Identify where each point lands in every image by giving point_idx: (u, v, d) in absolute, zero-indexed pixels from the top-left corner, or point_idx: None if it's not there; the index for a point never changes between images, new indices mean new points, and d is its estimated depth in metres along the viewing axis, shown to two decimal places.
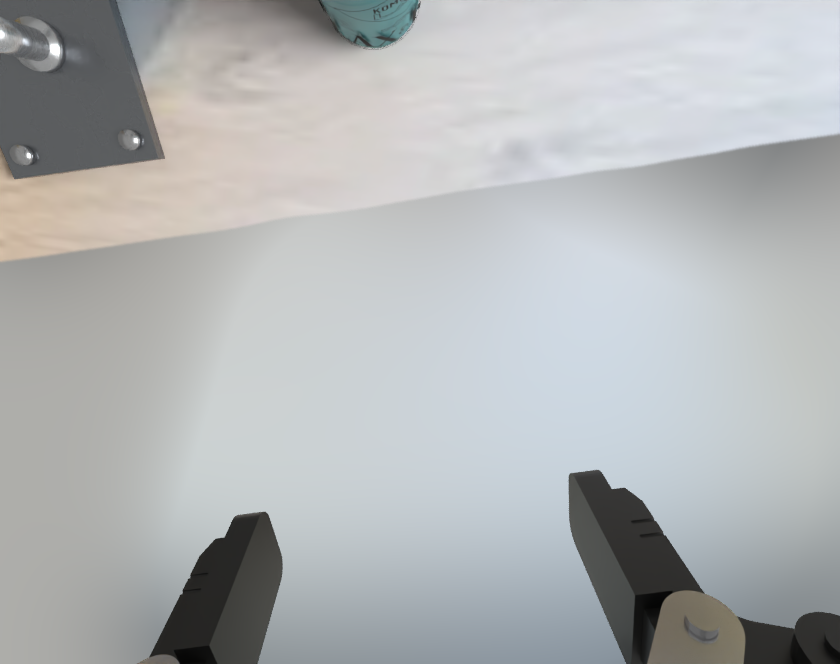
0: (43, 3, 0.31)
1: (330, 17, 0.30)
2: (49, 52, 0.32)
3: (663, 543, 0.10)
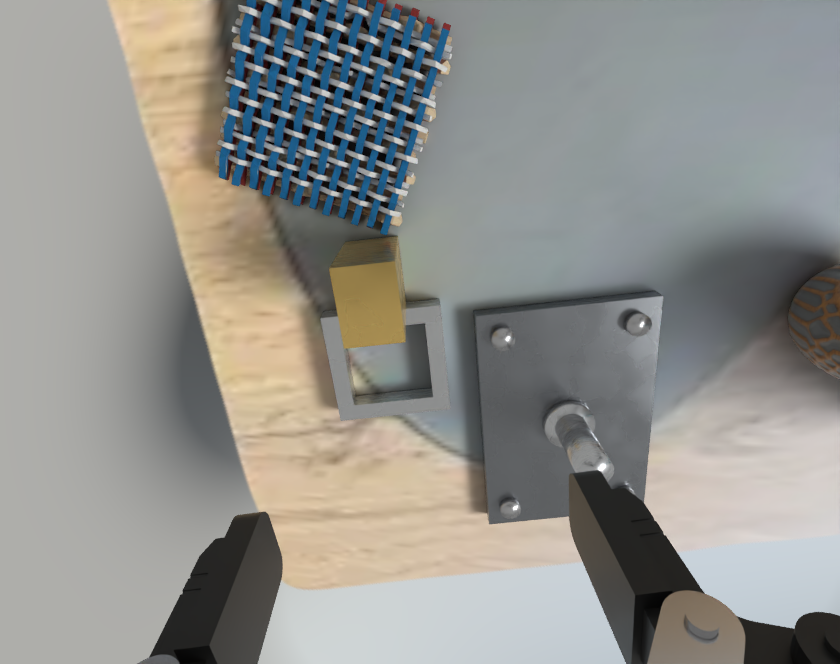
0: (587, 388, 0.30)
1: None
2: None
3: (663, 543, 0.10)
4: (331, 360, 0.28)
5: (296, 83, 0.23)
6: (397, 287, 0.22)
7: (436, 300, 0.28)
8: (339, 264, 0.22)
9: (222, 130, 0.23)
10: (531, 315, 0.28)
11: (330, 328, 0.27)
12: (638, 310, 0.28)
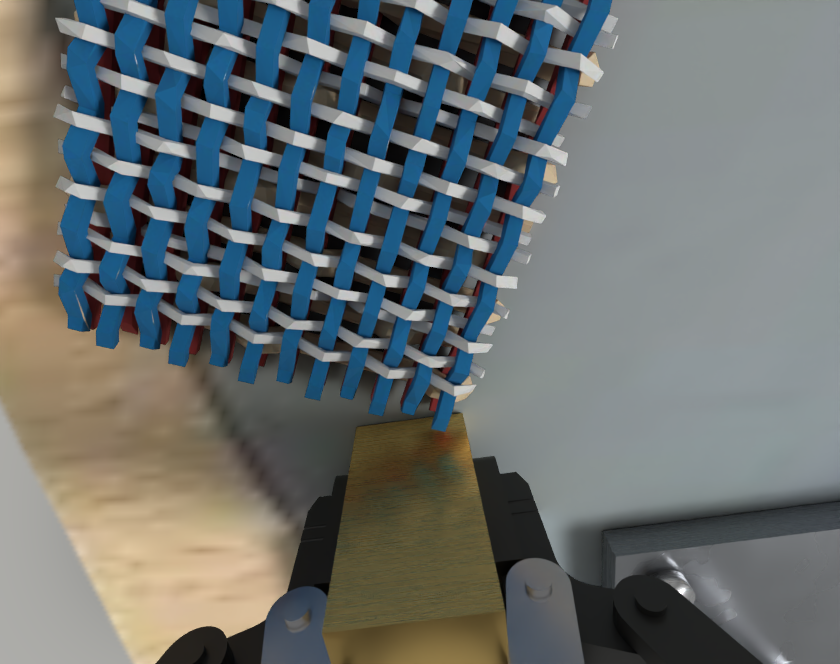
0: (809, 655, 0.16)
1: None
2: None
3: (535, 520, 0.11)
4: None
5: (230, 117, 0.09)
6: (506, 659, 0.08)
7: None
8: (349, 595, 0.08)
9: None
10: (726, 551, 0.14)
11: None
12: None
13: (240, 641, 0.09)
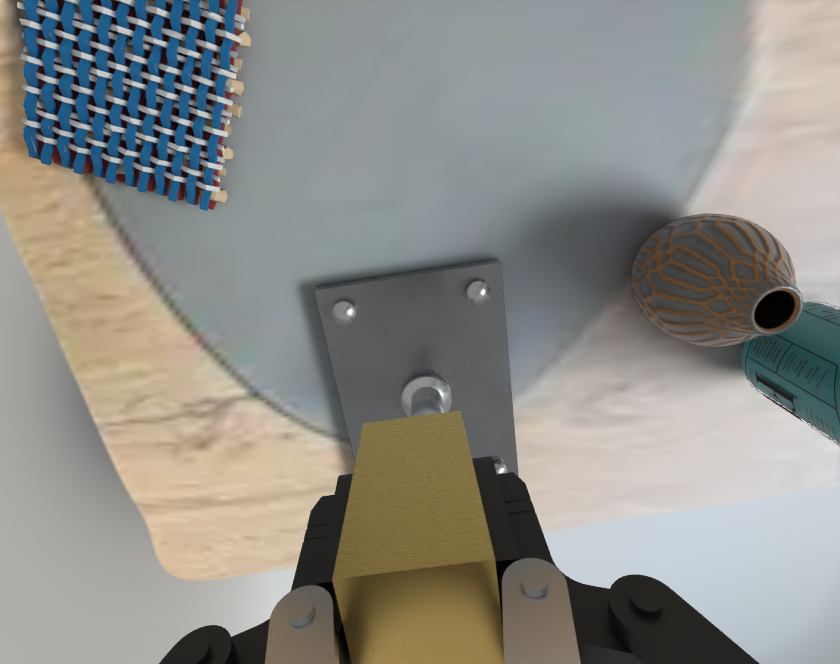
0: (440, 360, 0.29)
1: (764, 387, 0.28)
2: None
3: (532, 520, 0.11)
4: None
5: (90, 58, 0.23)
6: (498, 610, 0.09)
7: None
8: (357, 551, 0.09)
9: (25, 108, 0.23)
10: (370, 287, 0.27)
11: None
12: (477, 278, 0.27)
13: (245, 640, 0.09)
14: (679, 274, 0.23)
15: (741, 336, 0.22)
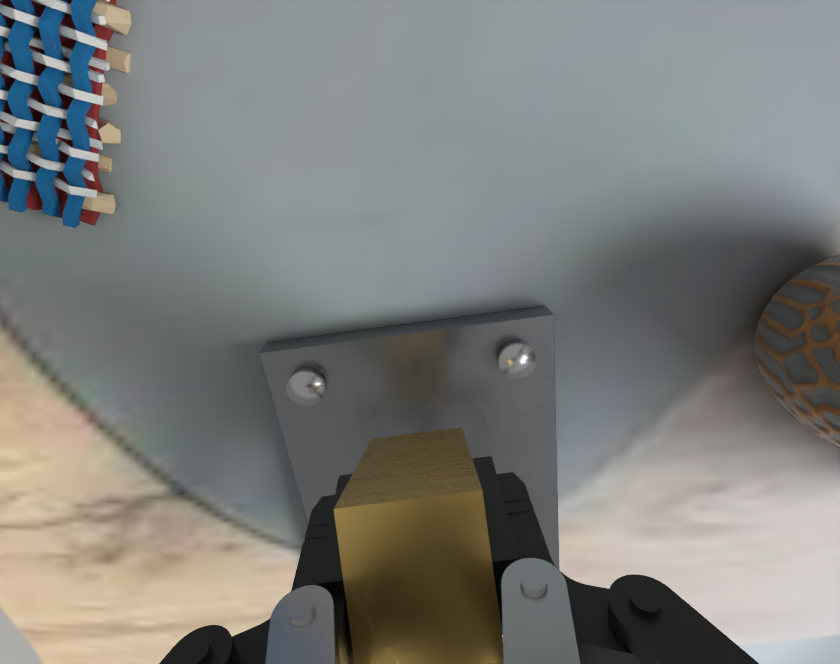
0: None
1: None
2: None
3: (531, 520, 0.11)
4: None
5: None
6: (488, 551, 0.09)
7: None
8: (357, 496, 0.10)
9: None
10: (348, 349, 0.18)
11: None
12: (515, 338, 0.17)
13: (245, 640, 0.09)
14: None
15: None
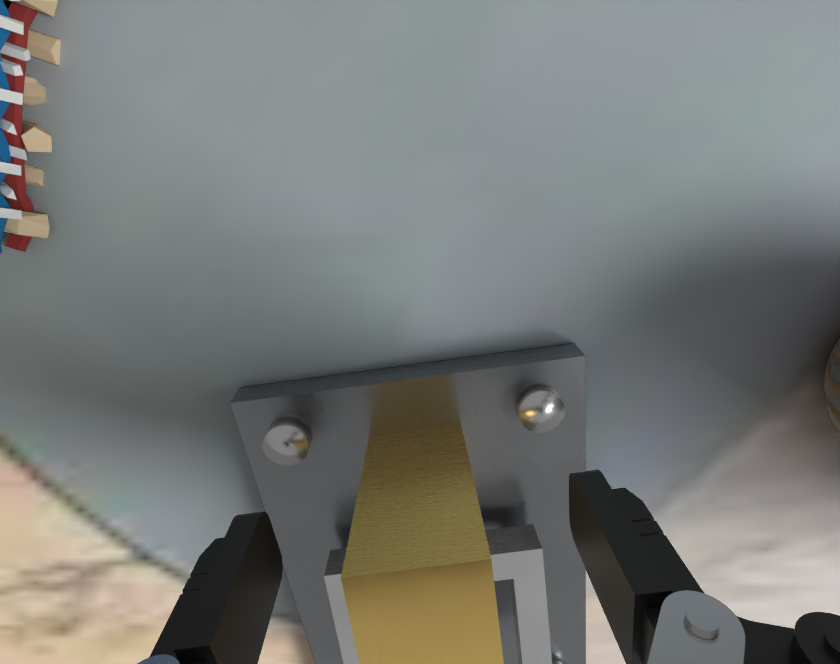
0: None
1: None
2: None
3: (663, 543, 0.10)
4: (344, 643, 0.16)
5: None
6: (495, 609, 0.10)
7: (529, 530, 0.16)
8: (363, 553, 0.10)
9: None
10: (337, 398, 0.15)
11: (342, 592, 0.15)
12: (539, 383, 0.14)
13: None
14: None
15: None
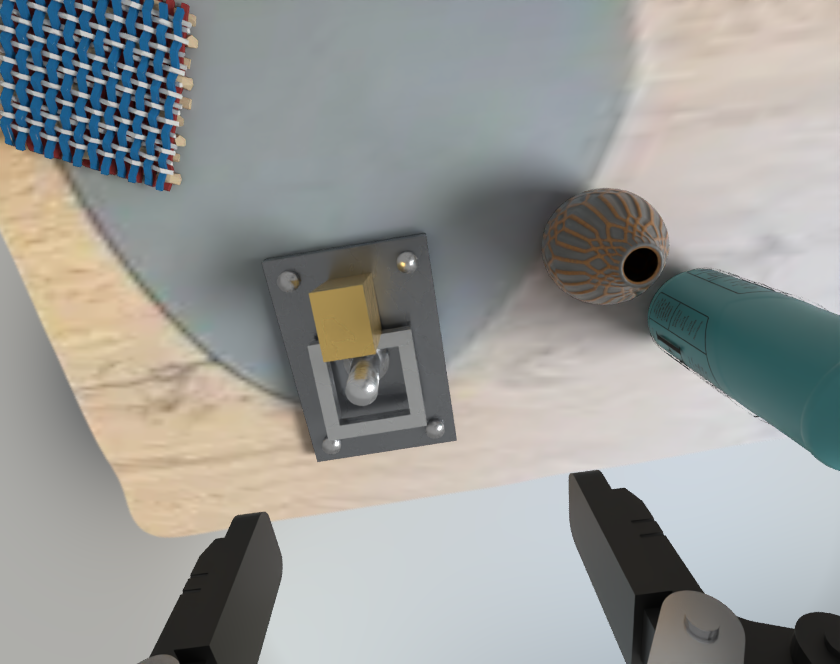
0: None
1: (664, 345, 0.31)
2: (379, 368, 0.33)
3: (663, 543, 0.10)
4: (318, 384, 0.32)
5: (58, 58, 0.26)
6: (365, 306, 0.26)
7: (408, 326, 0.32)
8: (317, 290, 0.26)
9: None
10: (311, 259, 0.31)
11: (316, 354, 0.31)
12: (406, 249, 0.31)
13: None
14: (568, 239, 0.26)
15: (620, 291, 0.26)
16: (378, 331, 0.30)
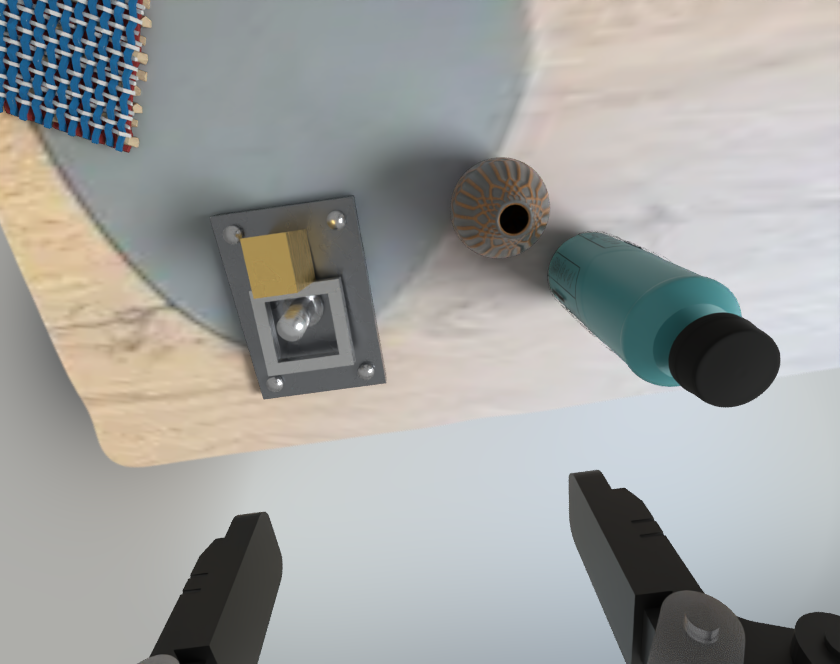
0: None
1: (558, 297, 0.36)
2: (314, 314, 0.38)
3: (663, 543, 0.10)
4: (258, 325, 0.37)
5: (30, 33, 0.31)
6: (288, 251, 0.31)
7: (338, 277, 0.37)
8: None
9: None
10: (253, 215, 0.36)
11: (256, 299, 0.36)
12: (335, 209, 0.36)
13: None
14: (463, 199, 0.31)
15: (502, 243, 0.30)
16: (308, 278, 0.35)
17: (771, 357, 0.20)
